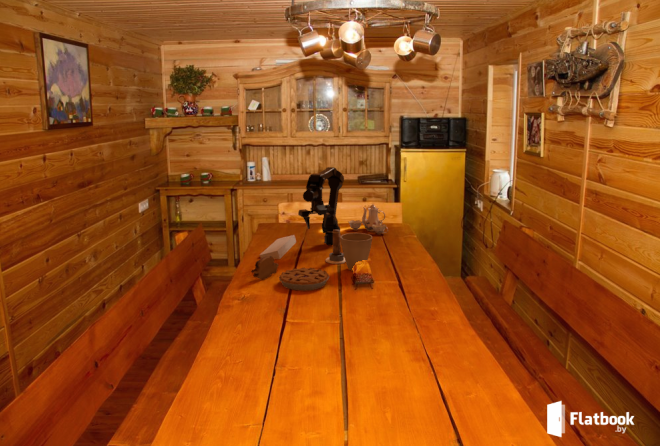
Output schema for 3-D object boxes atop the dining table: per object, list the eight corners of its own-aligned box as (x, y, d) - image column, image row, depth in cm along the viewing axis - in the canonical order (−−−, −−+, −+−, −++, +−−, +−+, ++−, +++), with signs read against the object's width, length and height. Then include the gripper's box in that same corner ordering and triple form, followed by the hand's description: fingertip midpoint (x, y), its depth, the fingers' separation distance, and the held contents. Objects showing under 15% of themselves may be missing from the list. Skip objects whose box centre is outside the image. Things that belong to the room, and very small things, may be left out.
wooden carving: (271, 272, 262) (271, 251, 260) (279, 273, 260) (279, 253, 258) (249, 282, 248) (248, 260, 246) (257, 283, 246) (257, 262, 244)
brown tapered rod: (338, 258, 282) (338, 229, 279) (341, 260, 279) (341, 230, 276) (331, 259, 281) (331, 229, 278) (334, 260, 278) (334, 231, 274)
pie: (293, 273, 260) (293, 263, 259) (336, 279, 252) (336, 268, 251) (270, 288, 241) (269, 277, 240) (316, 295, 232) (316, 283, 231)
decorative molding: (262, 263, 286) (280, 259, 284) (259, 255, 285) (277, 250, 283) (280, 246, 319) (296, 242, 316) (277, 238, 318) (294, 234, 316)
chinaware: (344, 233, 344) (342, 207, 339) (357, 225, 357) (356, 200, 352) (384, 239, 329) (384, 211, 324) (397, 230, 343) (396, 204, 338)
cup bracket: (327, 257, 286) (327, 250, 285) (348, 258, 285) (348, 251, 284) (324, 263, 275) (324, 256, 275) (346, 264, 274) (346, 257, 273)
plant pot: (334, 268, 267) (334, 236, 264) (358, 262, 276) (358, 231, 273) (354, 276, 256) (354, 242, 252) (378, 270, 264) (378, 237, 261)
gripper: (306, 202, 279) (306, 233, 282) (339, 199, 287) (339, 229, 290) (297, 199, 289) (298, 228, 292) (330, 196, 296) (330, 225, 300)
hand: (317, 228), depth 293 cm, fingers open, 9 cm apart
